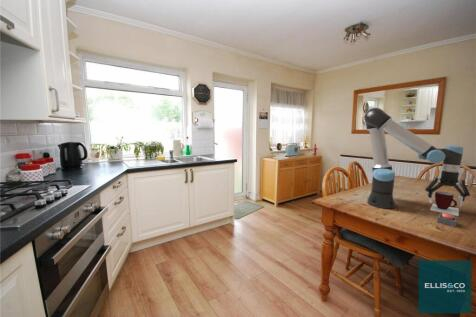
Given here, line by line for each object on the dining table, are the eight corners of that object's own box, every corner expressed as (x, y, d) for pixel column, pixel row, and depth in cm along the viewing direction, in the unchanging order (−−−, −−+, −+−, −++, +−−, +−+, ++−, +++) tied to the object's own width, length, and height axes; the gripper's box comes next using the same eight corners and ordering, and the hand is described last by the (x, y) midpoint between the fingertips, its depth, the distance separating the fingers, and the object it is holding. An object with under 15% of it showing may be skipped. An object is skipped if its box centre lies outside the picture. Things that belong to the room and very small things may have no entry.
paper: (458, 216, 117) (458, 215, 117) (430, 210, 126) (430, 209, 126) (458, 209, 128) (459, 208, 128) (432, 204, 137) (432, 203, 137)
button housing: (455, 227, 104) (456, 221, 103) (437, 222, 109) (438, 217, 109) (456, 223, 108) (456, 217, 108) (438, 219, 113) (439, 213, 113)
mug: (459, 211, 124) (462, 195, 122) (452, 213, 121) (455, 197, 119) (437, 205, 133) (439, 190, 132) (430, 207, 130) (432, 192, 129)
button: (453, 221, 105) (453, 216, 105) (441, 218, 109) (441, 214, 108) (453, 219, 108) (454, 214, 108) (441, 216, 111) (442, 212, 111)
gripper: (427, 170, 125) (421, 203, 128) (483, 174, 115) (475, 209, 119) (421, 168, 132) (416, 199, 135) (474, 171, 122) (467, 205, 125)
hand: (444, 204), depth 127 cm, fingers open, 13 cm apart
